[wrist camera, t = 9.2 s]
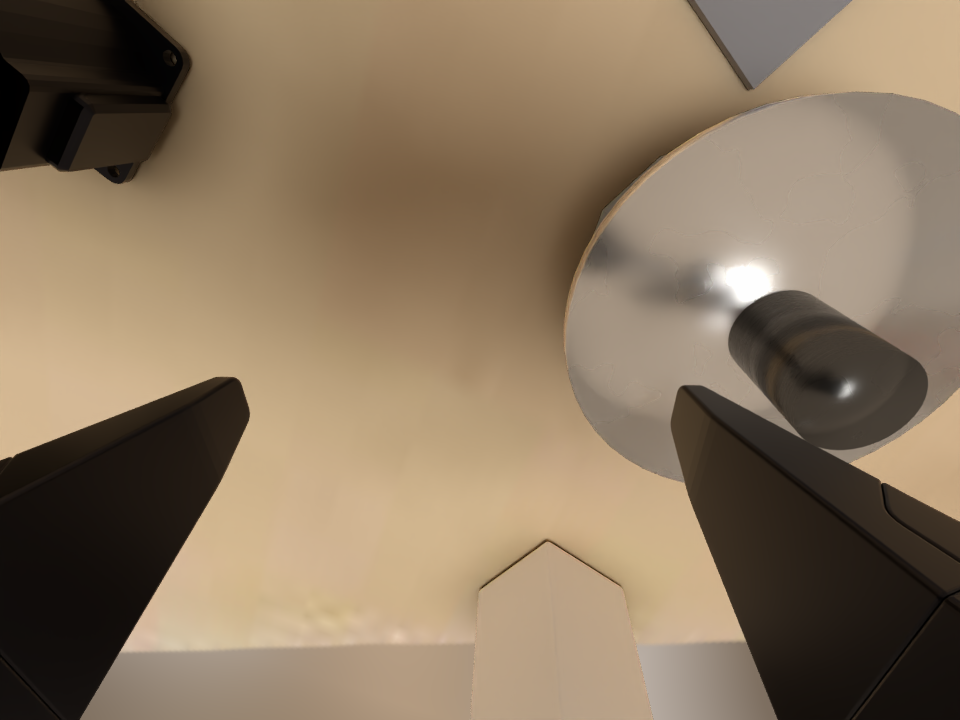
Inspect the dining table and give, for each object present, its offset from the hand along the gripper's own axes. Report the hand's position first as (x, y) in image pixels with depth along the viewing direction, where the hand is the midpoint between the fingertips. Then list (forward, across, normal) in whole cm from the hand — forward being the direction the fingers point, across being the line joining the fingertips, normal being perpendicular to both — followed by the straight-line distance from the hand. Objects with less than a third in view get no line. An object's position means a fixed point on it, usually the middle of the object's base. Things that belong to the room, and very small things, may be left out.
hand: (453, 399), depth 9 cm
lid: (+7, -10, +1) cm, 12 cm away
